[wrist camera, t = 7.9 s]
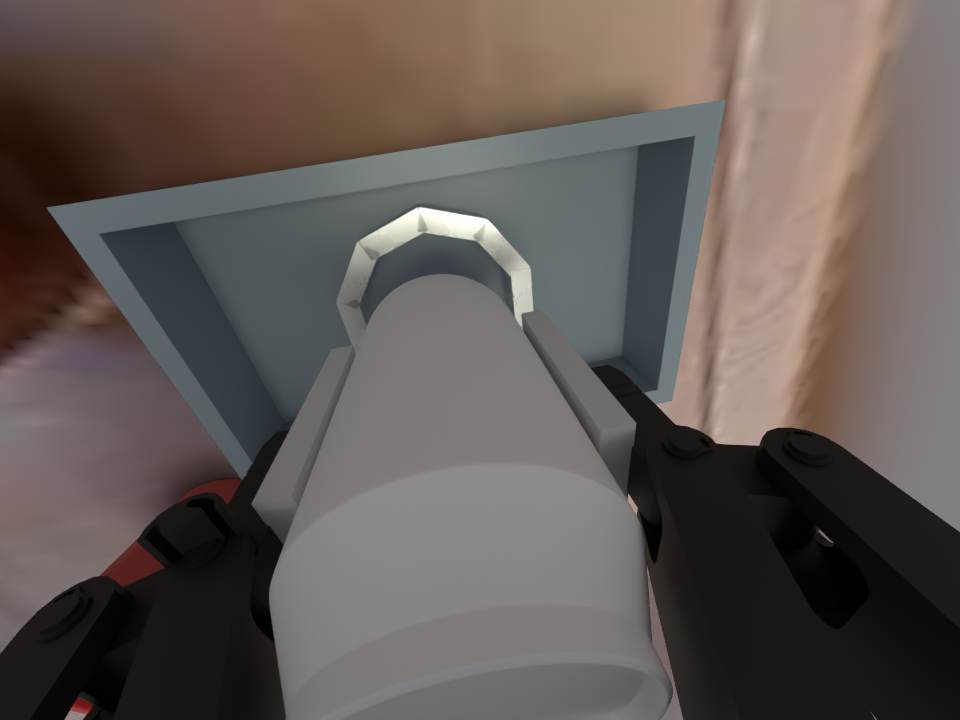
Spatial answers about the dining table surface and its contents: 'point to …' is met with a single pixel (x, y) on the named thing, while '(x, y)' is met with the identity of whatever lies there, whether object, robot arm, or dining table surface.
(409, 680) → the beverage can
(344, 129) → the dining table surface
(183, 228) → the walled box
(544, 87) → the dining table surface
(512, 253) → the inlet ring
